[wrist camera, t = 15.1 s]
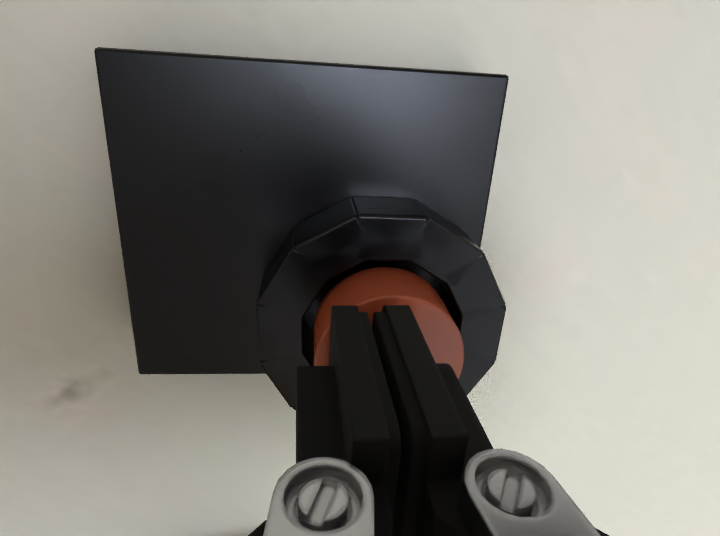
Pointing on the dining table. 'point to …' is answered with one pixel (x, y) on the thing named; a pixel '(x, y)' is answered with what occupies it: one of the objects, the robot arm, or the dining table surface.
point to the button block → (293, 200)
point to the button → (393, 289)
